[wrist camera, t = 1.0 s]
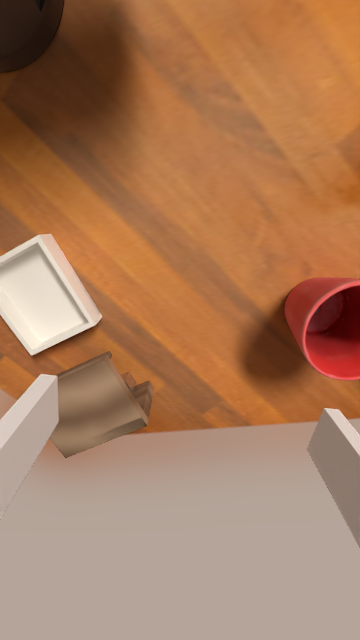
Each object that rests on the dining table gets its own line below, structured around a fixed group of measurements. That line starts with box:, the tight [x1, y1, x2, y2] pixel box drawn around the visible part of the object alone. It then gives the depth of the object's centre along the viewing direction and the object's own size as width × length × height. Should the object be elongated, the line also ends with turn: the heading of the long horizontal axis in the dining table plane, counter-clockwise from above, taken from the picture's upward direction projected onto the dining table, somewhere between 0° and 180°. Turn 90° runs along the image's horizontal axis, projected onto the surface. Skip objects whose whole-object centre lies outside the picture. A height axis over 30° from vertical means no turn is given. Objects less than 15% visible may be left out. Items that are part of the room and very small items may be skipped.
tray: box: [0, 234, 102, 356], centre depth 34 cm, size 12×10×3 cm
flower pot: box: [284, 278, 360, 381], centre depth 31 cm, size 11×11×10 cm
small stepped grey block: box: [121, 372, 136, 393], centre depth 39 cm, size 2×8×2 cm, turn 116°
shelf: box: [17, 351, 154, 458], centre depth 36 cm, size 10×12×8 cm
